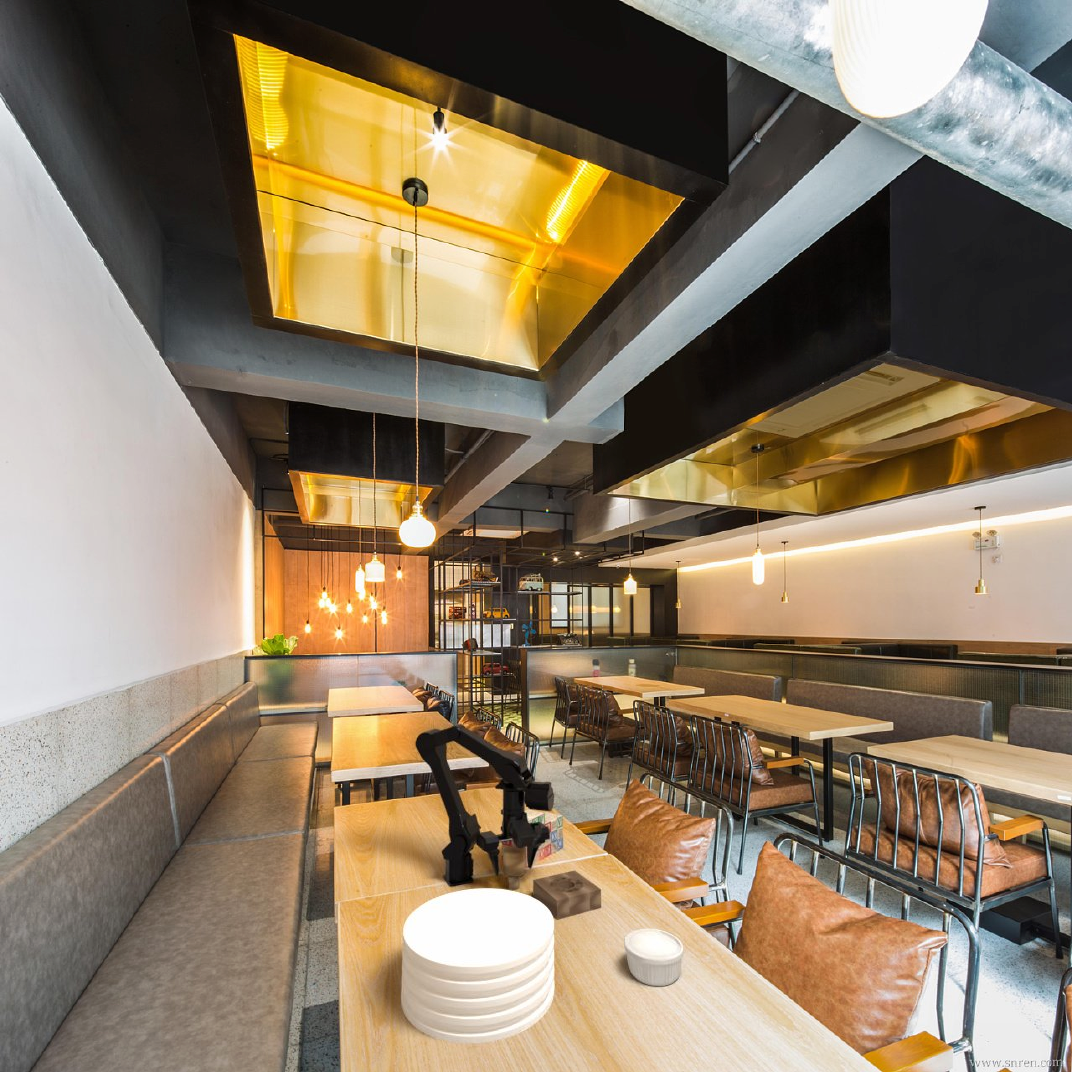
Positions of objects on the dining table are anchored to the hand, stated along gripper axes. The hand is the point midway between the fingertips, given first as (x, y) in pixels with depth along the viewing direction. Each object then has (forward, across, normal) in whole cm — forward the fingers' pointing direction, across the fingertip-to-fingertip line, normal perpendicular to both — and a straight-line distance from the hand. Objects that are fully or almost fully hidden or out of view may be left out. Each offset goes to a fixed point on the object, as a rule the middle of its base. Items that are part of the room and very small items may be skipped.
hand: (513, 871), depth 147 cm
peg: (+4, 0, 0) cm, 4 cm away
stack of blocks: (+4, +13, +15) cm, 21 cm away
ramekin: (+4, +9, -45) cm, 46 cm away
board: (+4, +8, -13) cm, 16 cm away
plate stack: (+4, -23, -34) cm, 41 cm away
